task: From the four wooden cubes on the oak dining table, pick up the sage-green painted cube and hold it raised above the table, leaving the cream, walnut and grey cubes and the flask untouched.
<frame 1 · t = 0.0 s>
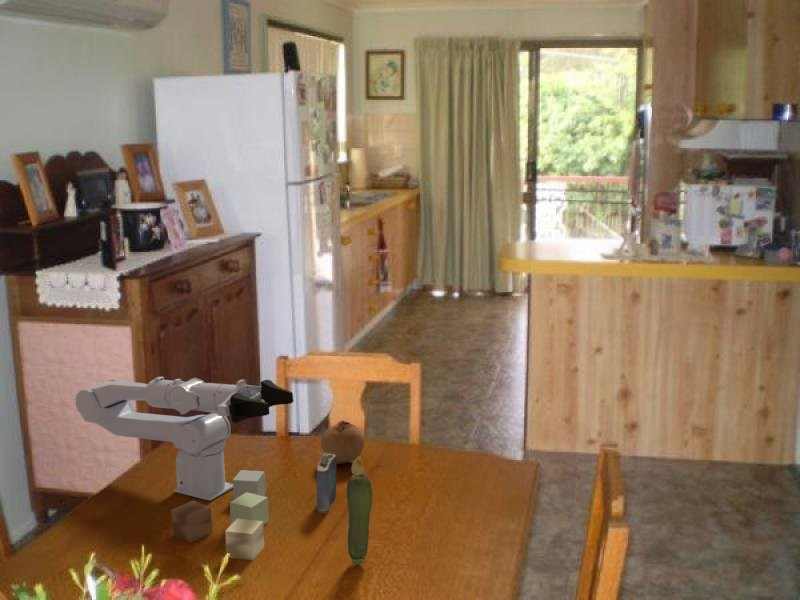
hand: (280, 403, 169), 22 cm above the table, tool horizontal, fingers open, 7 cm apart
onion: (343, 464, 196), on the table
walnut cube: (192, 533, 164), on the table
green cube: (250, 524, 167), on the table
vegetable: (360, 564, 153), on the table
cream cube: (245, 552, 157), on the table
grey cube: (249, 499, 178), on the table
flask: (326, 505, 176), on the table
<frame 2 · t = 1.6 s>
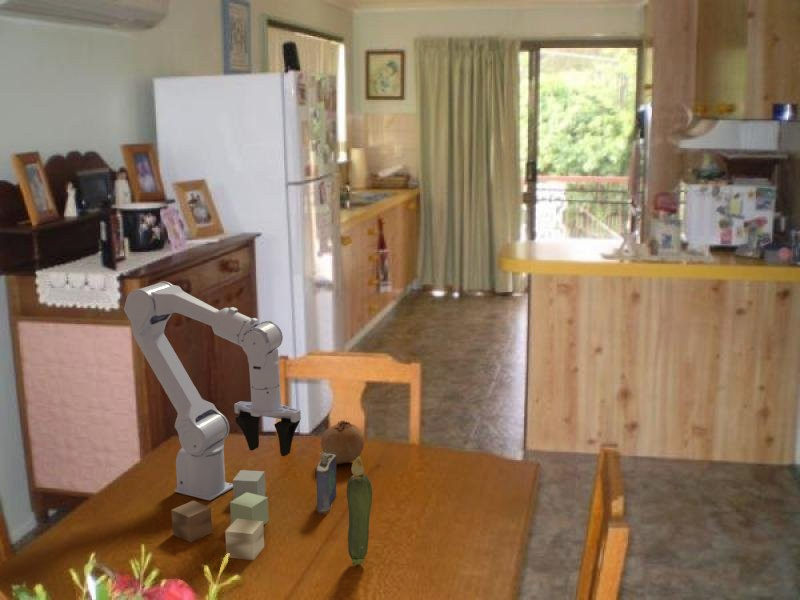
hand: (269, 451, 175), 10 cm above the table, tool pointing down, fingers open, 7 cm apart
nothing on the table moved.
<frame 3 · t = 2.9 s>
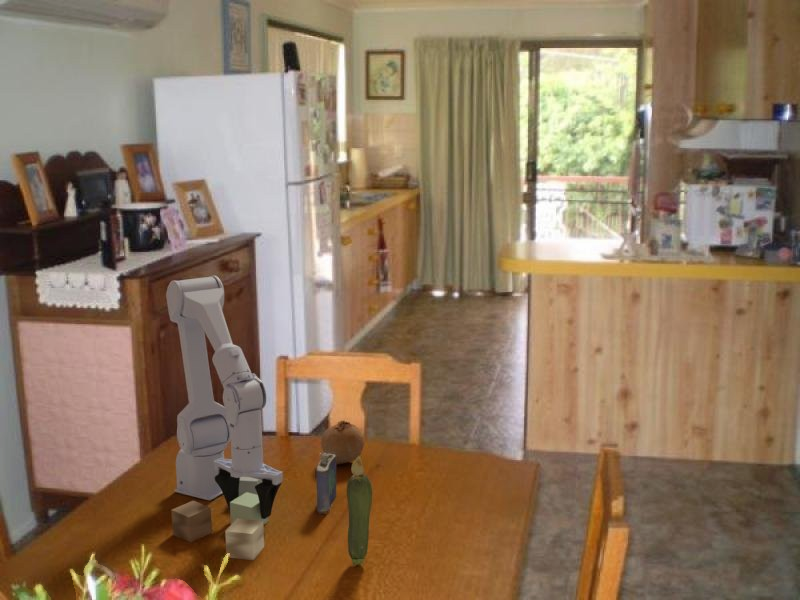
hand: (249, 512, 167), 2 cm above the table, tool pointing down, fingers open, 7 cm apart
nothing on the table moved.
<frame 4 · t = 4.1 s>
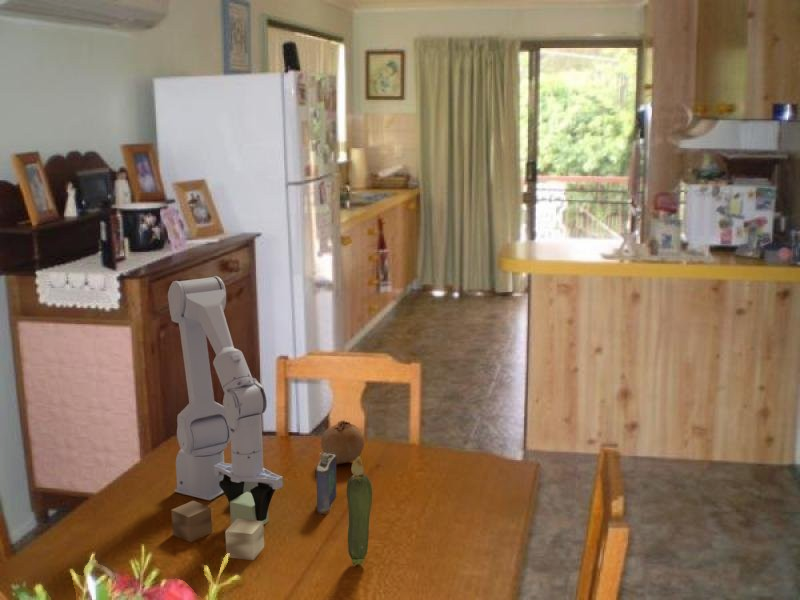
hand: (249, 516, 167), 1 cm above the table, tool pointing down, fingers closed on green cube, 5 cm apart
green cube: (250, 524, 167), on the table, touching gripper
everything else where it was.
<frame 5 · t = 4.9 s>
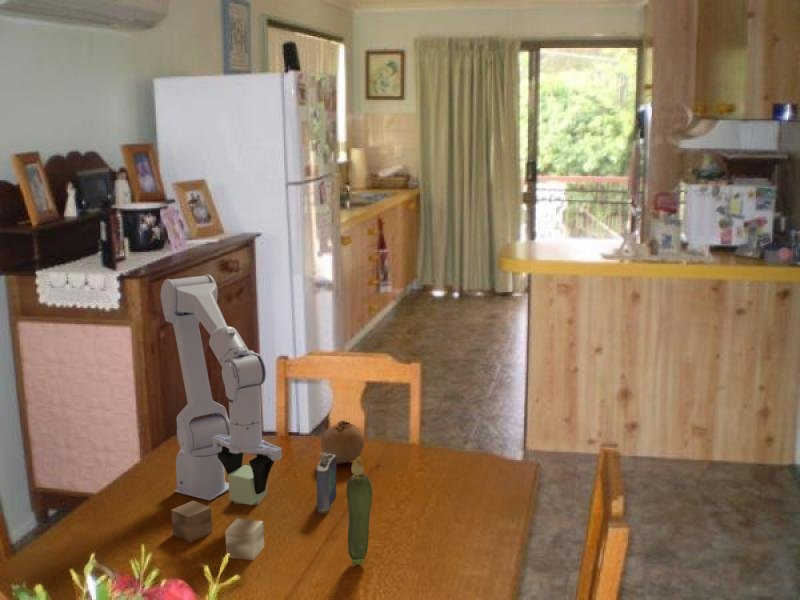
hand: (248, 489, 166), 7 cm above the table, tool pointing down, fingers closed on green cube, 5 cm apart
green cube: (248, 497, 166), point 5 cm above the table, touching gripper
everything else where it was.
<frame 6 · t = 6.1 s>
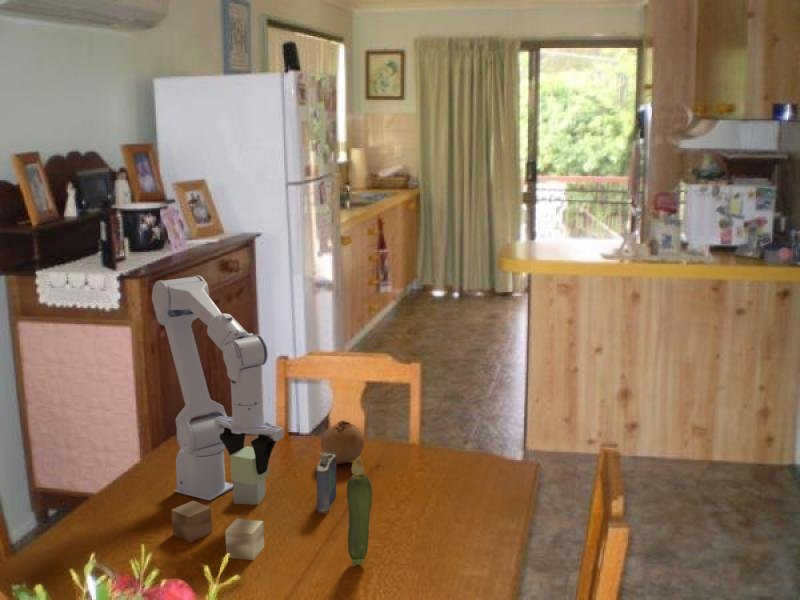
hand: (250, 469, 168), 10 cm above the table, tool pointing down, fingers closed on green cube, 5 cm apart
green cube: (250, 477, 168), point 8 cm above the table, touching gripper
everything else where it was.
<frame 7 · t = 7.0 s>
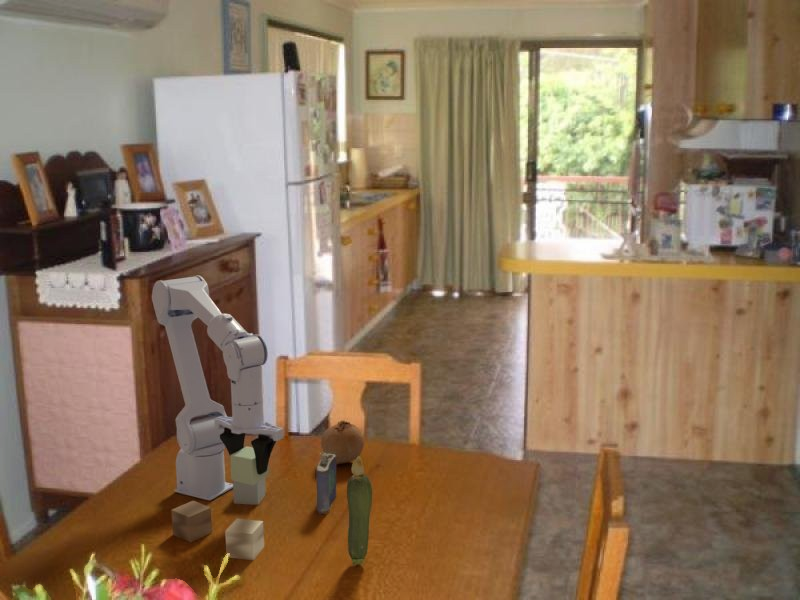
hand: (250, 469, 168), 10 cm above the table, tool pointing down, fingers closed on green cube, 5 cm apart
green cube: (250, 477, 168), point 8 cm above the table, touching gripper
everything else where it was.
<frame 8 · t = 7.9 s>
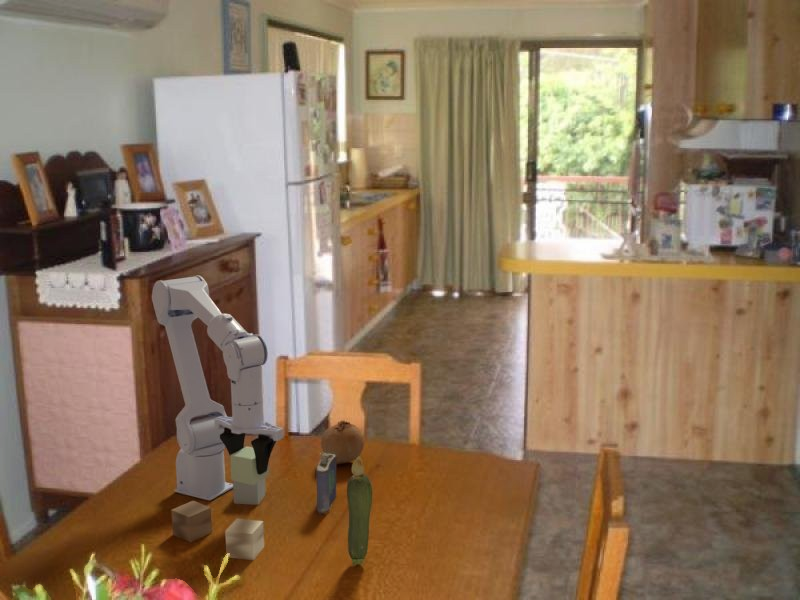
hand: (250, 469, 168), 10 cm above the table, tool pointing down, fingers closed on green cube, 5 cm apart
green cube: (250, 477, 168), point 8 cm above the table, touching gripper
everything else where it was.
at the end: the gripper is holding green cube; green cube point 8.3 cm above the table; grey cube moved 0.1 cm from its start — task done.
